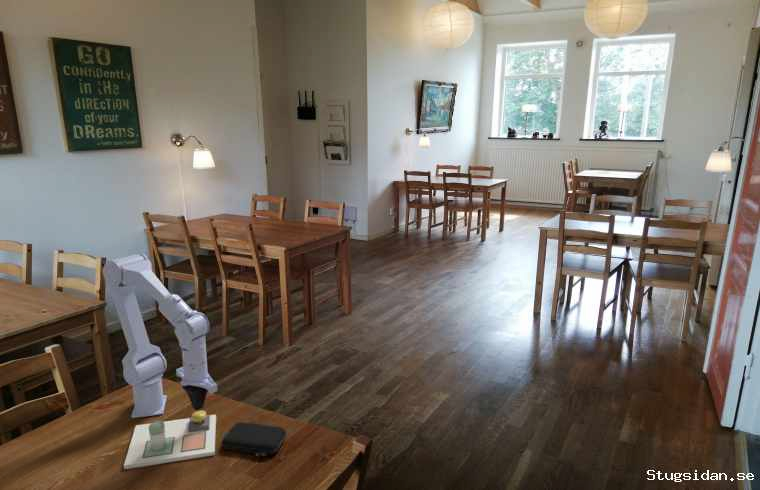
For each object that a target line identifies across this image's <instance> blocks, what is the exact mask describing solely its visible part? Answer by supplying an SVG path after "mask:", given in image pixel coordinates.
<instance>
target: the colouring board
mask: <svg viewBox="0 0 760 490" xmlns="http://www.w3.org/2000/svg"><path fill="white" fill-rule="evenodd" d="M163 422H164V425H165V438H166V447H165V448H164V449H163V450H161V451H152V450H151V443H150V434H149V425H150V424H151V423H145V424H136V425H135V427H134V430H133V434H132V437H131V440H130V442H129V447H128V451H127V454H126V456H125V460H124V463H123V470H128V469H129V470H130V469H135V468H141V467H147V466H148V467H149V466H154V465H160V464H166V463H171V462H172V463H173V462H178V461H186V460H191V459H197V458H204V457H210V456H215V454H216V453H215V452H216V451H215V450H216V429H217V428H216V427H217V414H206V419H205V420H203V421H202V422H201V423H196V422H194V421H192V416H191V417H188V418H180V419H174V420H173V419H172V420H167V421H163Z"/></svg>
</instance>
